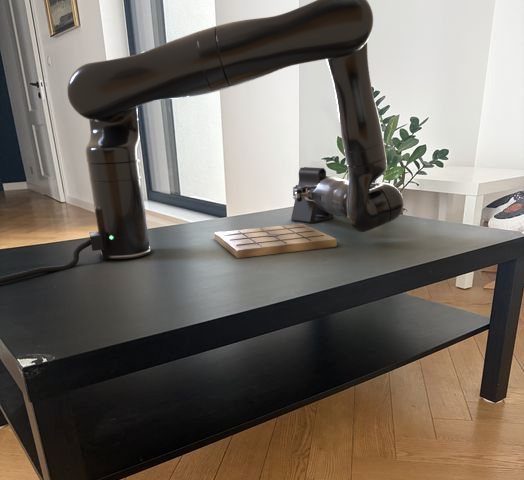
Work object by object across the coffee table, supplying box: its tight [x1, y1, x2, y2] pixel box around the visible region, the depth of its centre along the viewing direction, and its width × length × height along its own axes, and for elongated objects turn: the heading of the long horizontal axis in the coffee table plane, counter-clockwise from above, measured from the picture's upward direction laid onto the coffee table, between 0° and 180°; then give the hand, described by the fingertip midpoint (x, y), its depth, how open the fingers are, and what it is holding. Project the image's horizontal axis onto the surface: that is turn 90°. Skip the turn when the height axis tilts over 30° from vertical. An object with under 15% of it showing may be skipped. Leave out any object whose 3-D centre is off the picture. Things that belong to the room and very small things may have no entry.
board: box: [214, 223, 338, 259], centre depth 111 cm, size 20×18×2 cm
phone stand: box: [290, 166, 334, 224], centre depth 131 cm, size 9×6×12 cm, turn 135°
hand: (308, 188), depth 133 cm, fingers open, 5 cm apart
